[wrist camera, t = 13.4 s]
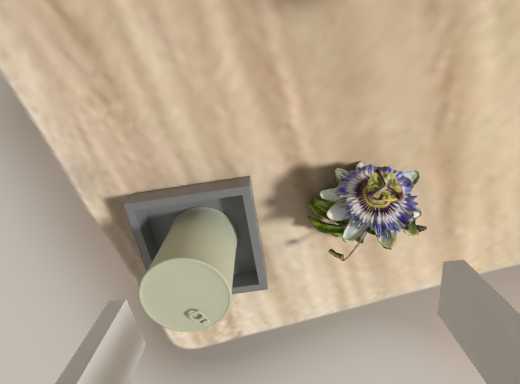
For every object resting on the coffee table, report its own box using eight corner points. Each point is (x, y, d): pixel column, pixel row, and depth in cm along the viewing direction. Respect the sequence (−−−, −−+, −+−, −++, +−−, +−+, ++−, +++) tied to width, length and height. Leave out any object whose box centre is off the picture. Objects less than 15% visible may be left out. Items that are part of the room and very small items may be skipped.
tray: (134, 193, 37) (123, 204, 34) (249, 176, 37) (249, 185, 34) (165, 286, 43) (158, 303, 40) (266, 272, 42) (267, 289, 39)
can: (194, 275, 42) (173, 349, 30) (155, 226, 39) (115, 287, 27) (250, 248, 40) (249, 314, 29) (214, 194, 37) (197, 245, 26)
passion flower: (346, 157, 42) (432, 148, 32) (361, 227, 44) (446, 240, 34) (285, 181, 36) (366, 178, 26) (306, 260, 38) (388, 287, 28)
